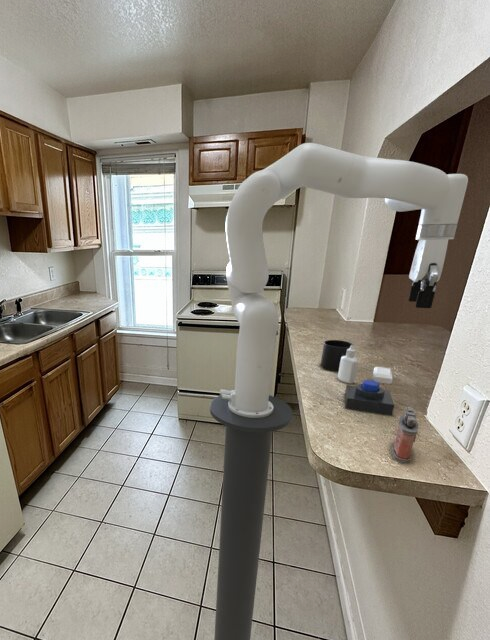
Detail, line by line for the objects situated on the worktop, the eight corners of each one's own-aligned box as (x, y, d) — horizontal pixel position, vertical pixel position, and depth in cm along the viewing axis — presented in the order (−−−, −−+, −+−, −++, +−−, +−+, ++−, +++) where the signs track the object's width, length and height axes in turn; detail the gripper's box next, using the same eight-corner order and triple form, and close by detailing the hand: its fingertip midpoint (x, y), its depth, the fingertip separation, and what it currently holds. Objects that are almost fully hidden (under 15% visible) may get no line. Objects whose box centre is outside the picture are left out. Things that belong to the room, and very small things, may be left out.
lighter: (411, 465, 73) (423, 422, 69) (392, 460, 74) (403, 418, 71) (408, 446, 79) (419, 406, 76) (391, 442, 81) (400, 402, 77)
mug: (326, 374, 121) (330, 349, 118) (317, 362, 132) (320, 339, 129) (355, 375, 120) (360, 349, 117) (343, 363, 131) (347, 340, 128)
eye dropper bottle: (340, 383, 113) (346, 347, 109) (336, 377, 118) (342, 342, 114) (355, 384, 112) (361, 348, 108) (350, 378, 118) (357, 343, 113)
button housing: (345, 408, 97) (348, 391, 95) (344, 394, 105) (347, 379, 104) (391, 415, 93) (395, 398, 91) (387, 400, 101) (390, 384, 99)
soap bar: (373, 381, 114) (375, 374, 114) (373, 372, 122) (374, 365, 121) (391, 384, 112) (393, 376, 111) (389, 375, 120) (391, 367, 119)
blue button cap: (362, 391, 96) (363, 384, 96) (361, 385, 100) (362, 379, 99) (378, 393, 95) (380, 386, 94) (377, 387, 98) (378, 381, 98)
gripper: (410, 233, 93) (396, 298, 99) (424, 233, 79) (407, 309, 85) (445, 232, 90) (428, 300, 96) (466, 232, 76) (445, 311, 82)
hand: (418, 304), depth 90 cm, fingers open, 9 cm apart
